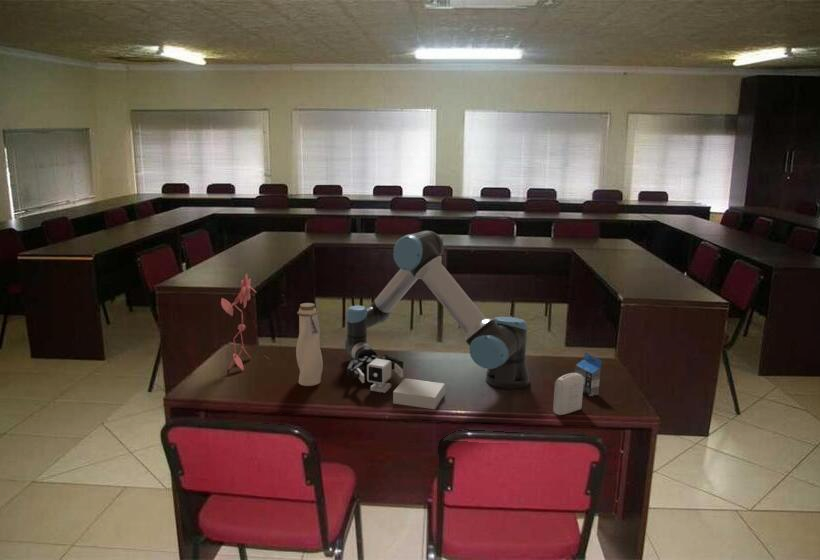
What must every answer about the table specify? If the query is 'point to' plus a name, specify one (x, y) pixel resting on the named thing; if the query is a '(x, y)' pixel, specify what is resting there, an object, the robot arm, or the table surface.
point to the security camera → (379, 374)
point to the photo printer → (568, 393)
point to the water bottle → (309, 346)
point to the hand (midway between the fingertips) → (382, 376)
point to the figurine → (228, 308)
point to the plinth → (419, 393)
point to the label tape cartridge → (589, 374)
